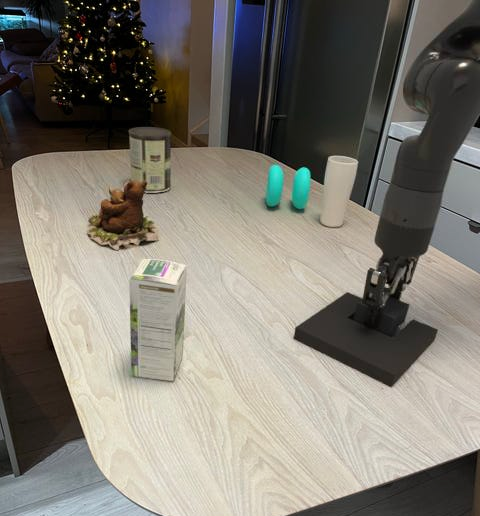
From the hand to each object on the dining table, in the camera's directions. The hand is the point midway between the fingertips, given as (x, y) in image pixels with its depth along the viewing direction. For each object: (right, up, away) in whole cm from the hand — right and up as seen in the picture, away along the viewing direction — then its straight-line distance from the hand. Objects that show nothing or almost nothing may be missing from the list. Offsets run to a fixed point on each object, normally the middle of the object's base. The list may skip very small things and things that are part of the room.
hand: (380, 317), depth 78 cm
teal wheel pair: (-11, +28, +47) cm, 56 cm away
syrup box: (-33, -7, -11) cm, 36 cm away
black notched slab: (-3, -3, -2) cm, 5 cm away
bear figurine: (-46, +17, +25) cm, 55 cm away
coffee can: (-45, +34, +51) cm, 76 cm away
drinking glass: (0, +22, +40) cm, 45 cm away
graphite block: (0, -1, 0) cm, 1 cm away
